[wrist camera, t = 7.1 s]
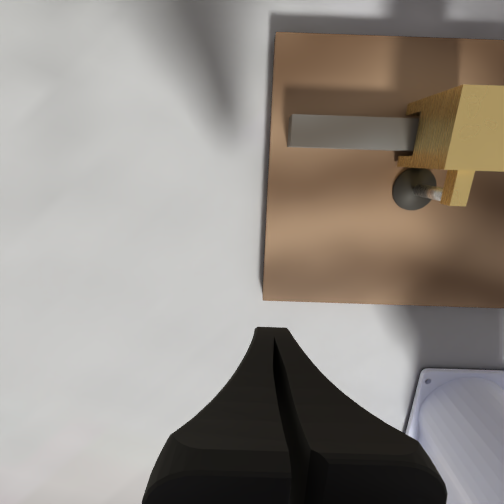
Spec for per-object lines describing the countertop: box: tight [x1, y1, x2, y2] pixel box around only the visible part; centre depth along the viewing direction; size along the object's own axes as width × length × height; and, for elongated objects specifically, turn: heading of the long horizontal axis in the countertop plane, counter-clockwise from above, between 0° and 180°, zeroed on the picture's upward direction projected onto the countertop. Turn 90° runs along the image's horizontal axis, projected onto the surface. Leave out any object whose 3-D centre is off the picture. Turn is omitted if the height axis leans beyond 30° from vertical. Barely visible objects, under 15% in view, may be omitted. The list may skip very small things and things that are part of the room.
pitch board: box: [262, 32, 504, 308], centre depth 16 cm, size 16×21×7 cm
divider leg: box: [397, 84, 504, 206], centre depth 15 cm, size 5×3×5 cm, turn 178°
